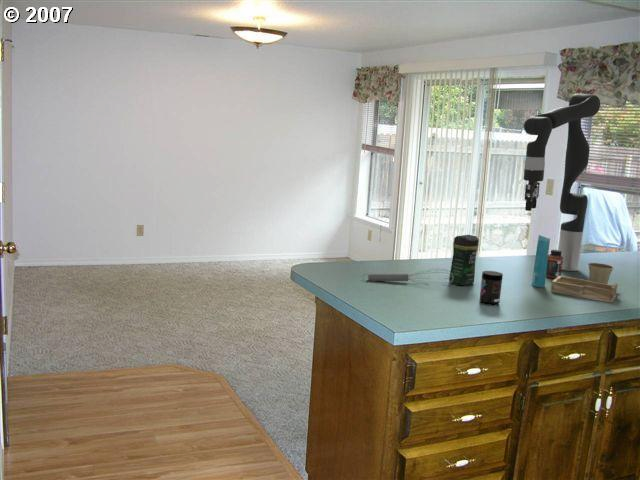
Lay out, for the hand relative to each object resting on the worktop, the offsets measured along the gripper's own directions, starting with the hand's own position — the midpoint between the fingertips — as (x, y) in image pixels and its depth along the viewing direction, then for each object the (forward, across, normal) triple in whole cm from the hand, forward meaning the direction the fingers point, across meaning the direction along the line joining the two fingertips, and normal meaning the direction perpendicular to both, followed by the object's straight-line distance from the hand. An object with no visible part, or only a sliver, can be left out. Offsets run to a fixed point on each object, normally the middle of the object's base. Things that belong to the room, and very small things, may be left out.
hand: (530, 209), depth 263 cm
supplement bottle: (+28, -9, +9) cm, 31 cm away
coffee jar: (+27, +30, -17) cm, 44 cm away
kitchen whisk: (+26, +45, -32) cm, 61 cm away
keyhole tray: (+28, +12, +24) cm, 39 cm away
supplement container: (+26, +52, 0) cm, 58 cm away
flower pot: (+29, -5, +27) cm, 40 cm away
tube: (+28, +12, +8) cm, 31 cm away
